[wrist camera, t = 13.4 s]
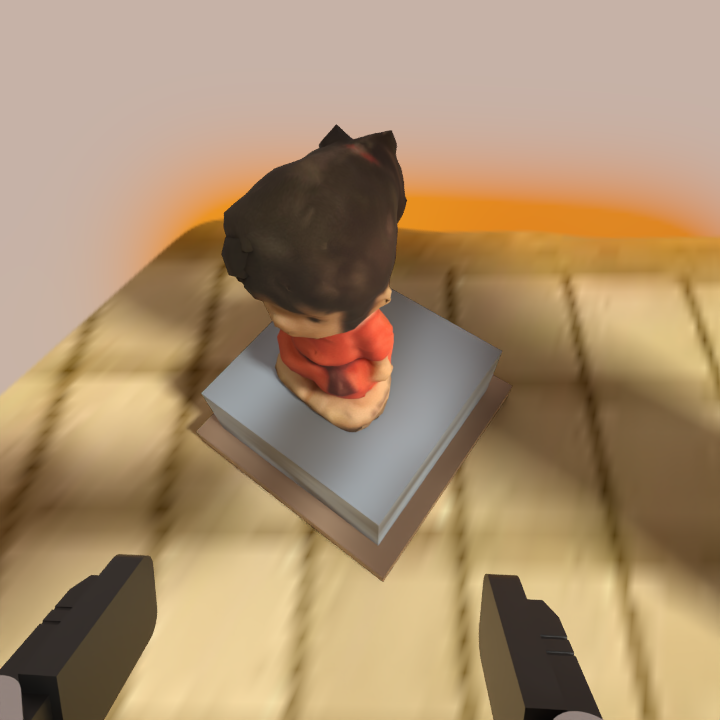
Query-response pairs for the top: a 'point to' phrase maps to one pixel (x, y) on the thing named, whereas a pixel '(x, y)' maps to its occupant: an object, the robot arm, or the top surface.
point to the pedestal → (362, 434)
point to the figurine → (326, 270)
